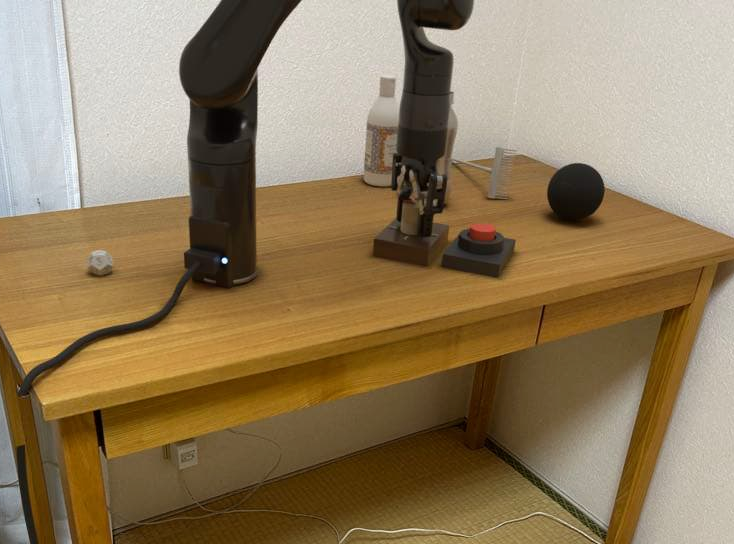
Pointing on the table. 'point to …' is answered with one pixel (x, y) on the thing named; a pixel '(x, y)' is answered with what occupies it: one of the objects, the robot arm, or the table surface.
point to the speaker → (575, 191)
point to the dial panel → (410, 244)
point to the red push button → (482, 232)
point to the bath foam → (382, 135)
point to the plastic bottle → (448, 150)
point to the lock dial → (410, 217)
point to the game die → (100, 262)
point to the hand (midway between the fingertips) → (413, 228)
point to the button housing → (478, 254)
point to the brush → (495, 171)
